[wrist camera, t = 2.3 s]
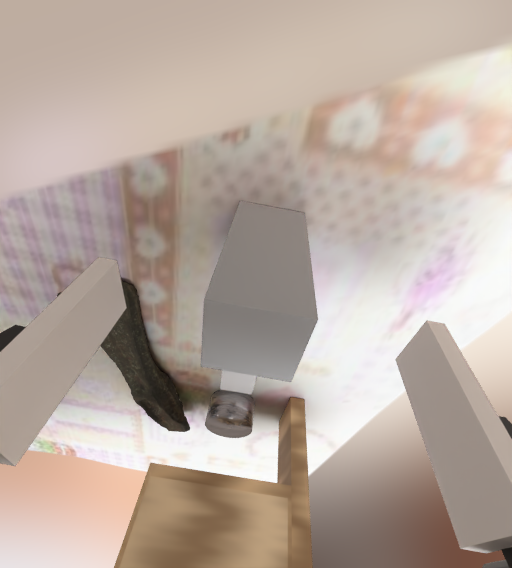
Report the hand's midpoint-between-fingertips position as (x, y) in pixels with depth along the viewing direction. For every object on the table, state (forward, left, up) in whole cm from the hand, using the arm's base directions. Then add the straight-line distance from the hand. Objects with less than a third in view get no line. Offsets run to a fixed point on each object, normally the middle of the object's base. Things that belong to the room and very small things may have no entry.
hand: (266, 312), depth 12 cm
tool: (-11, -17, -8) cm, 21 cm away
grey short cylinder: (0, -22, -7) cm, 23 cm away
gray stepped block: (0, -7, -7) cm, 10 cm away
